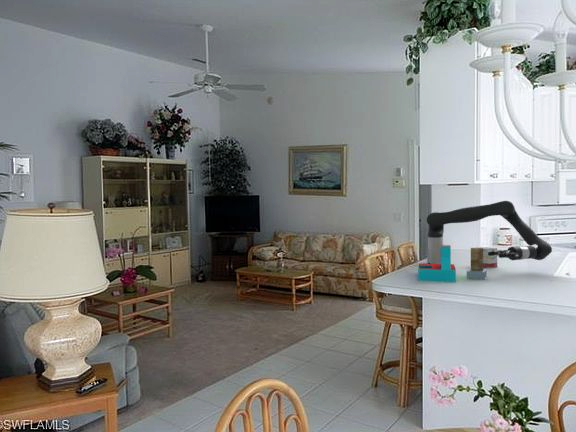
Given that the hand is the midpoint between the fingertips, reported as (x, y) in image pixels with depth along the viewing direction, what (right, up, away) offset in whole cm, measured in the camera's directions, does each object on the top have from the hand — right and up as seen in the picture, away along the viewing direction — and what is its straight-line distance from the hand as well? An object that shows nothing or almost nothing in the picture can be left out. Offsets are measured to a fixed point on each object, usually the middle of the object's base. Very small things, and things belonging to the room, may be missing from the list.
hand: (493, 254), depth 259 cm
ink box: (+10, -10, +32) cm, 35 cm away
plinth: (-10, -12, -2) cm, 16 cm away
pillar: (-10, -8, -3) cm, 13 cm away
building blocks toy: (-31, -13, +1) cm, 34 cm away
